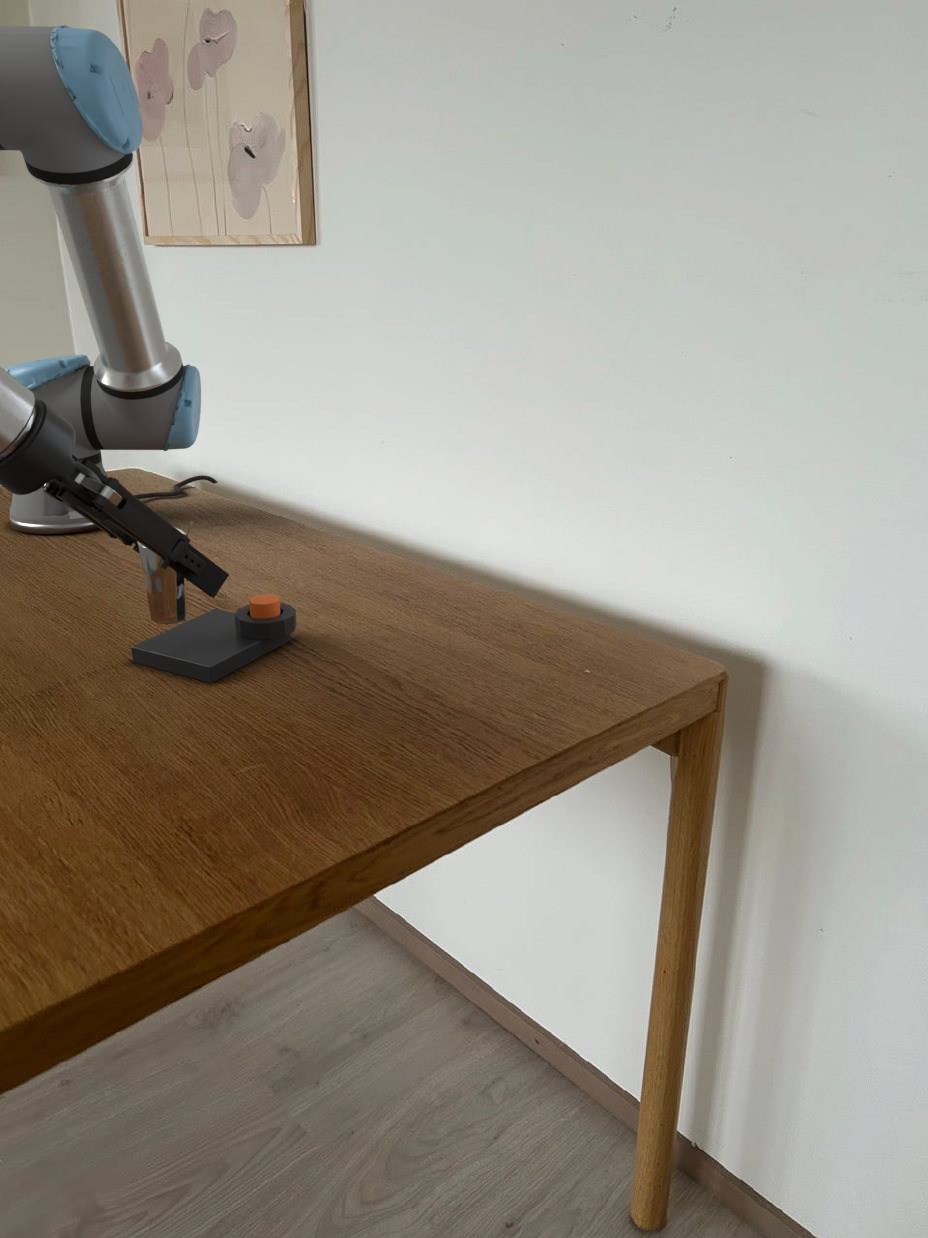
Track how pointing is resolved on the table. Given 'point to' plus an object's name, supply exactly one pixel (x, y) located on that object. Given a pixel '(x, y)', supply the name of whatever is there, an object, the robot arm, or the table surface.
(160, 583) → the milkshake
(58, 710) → the table surface
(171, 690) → the table surface
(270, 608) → the button
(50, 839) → the table surface
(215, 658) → the scale
